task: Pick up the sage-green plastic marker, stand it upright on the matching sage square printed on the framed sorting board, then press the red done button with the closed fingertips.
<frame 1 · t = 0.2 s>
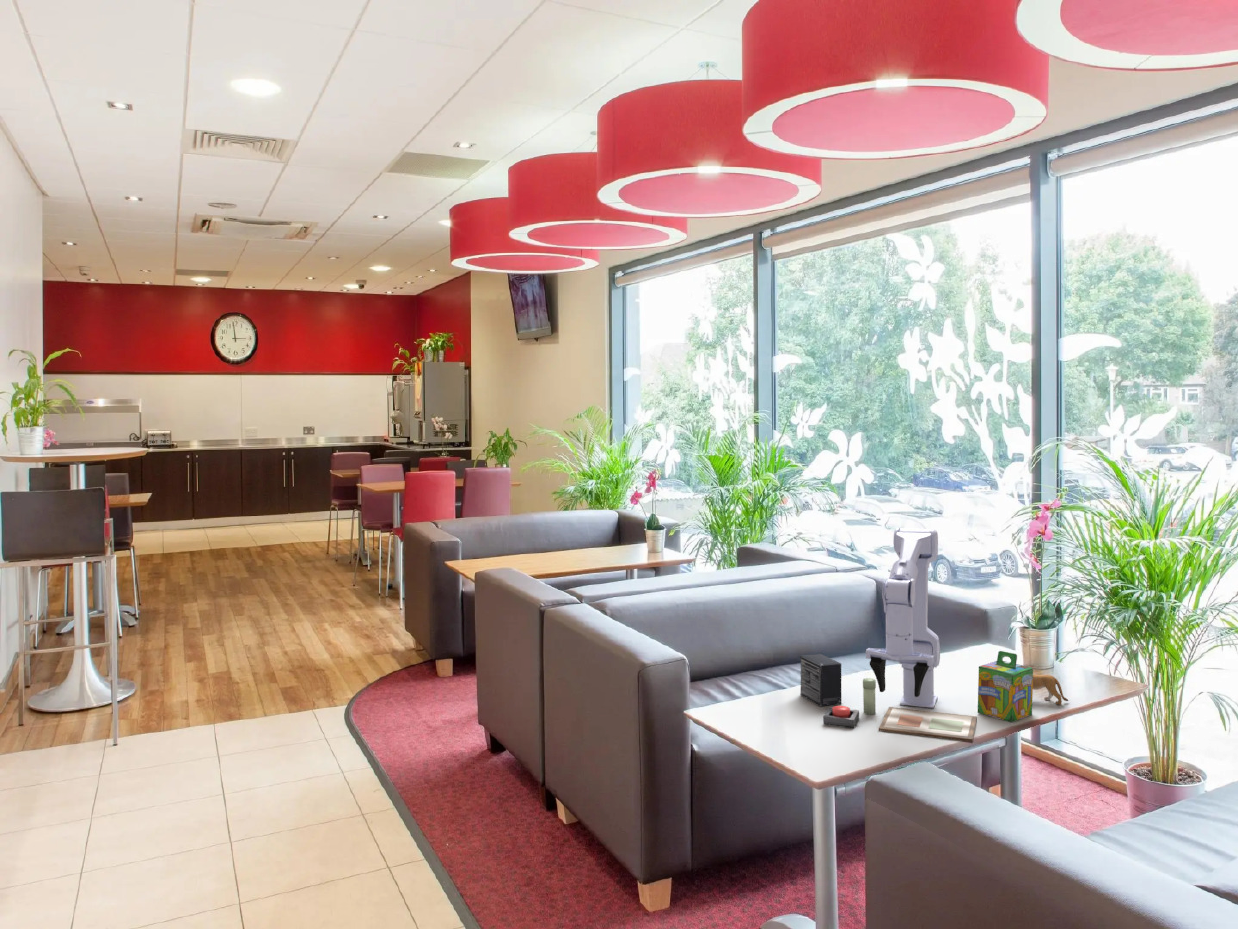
hand: (899, 693, 203), 10 cm above the table, fingers open, 7 cm apart
small box: (821, 700, 231), on the table
button housing: (841, 721, 214), on the table
lion figurine: (1033, 701, 226), on the table
sage marker: (869, 712, 220), on the table
done button: (841, 712, 214), point 2 cm above the table, slide at 0.0 cm
chalk box: (1005, 715, 217), on the table
framed sorting board: (928, 724, 211), on the table
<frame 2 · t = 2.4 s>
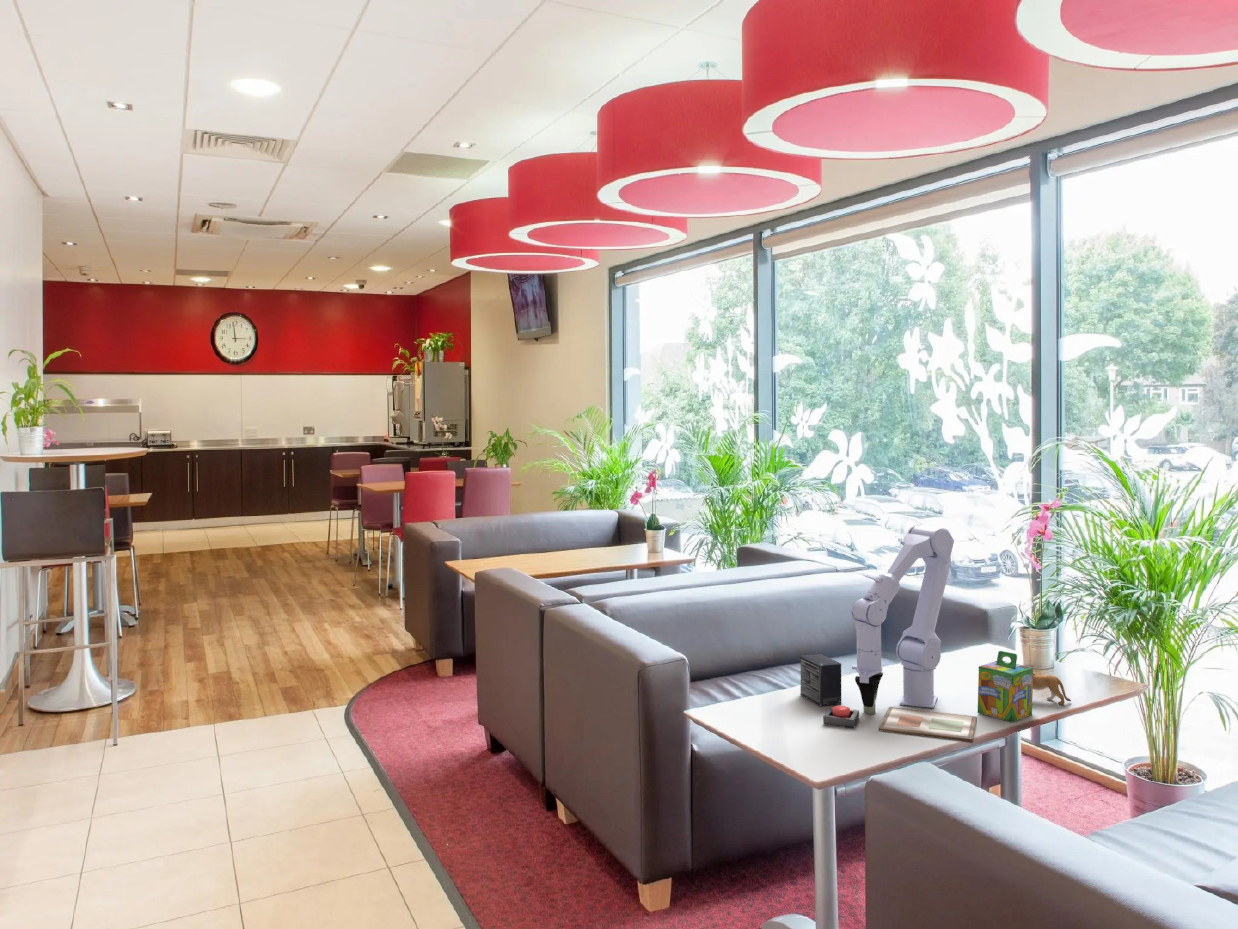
hand: (869, 704, 220), 2 cm above the table, fingers closed on sage marker, 3 cm apart
sage marker: (869, 712, 220), on the table, touching gripper
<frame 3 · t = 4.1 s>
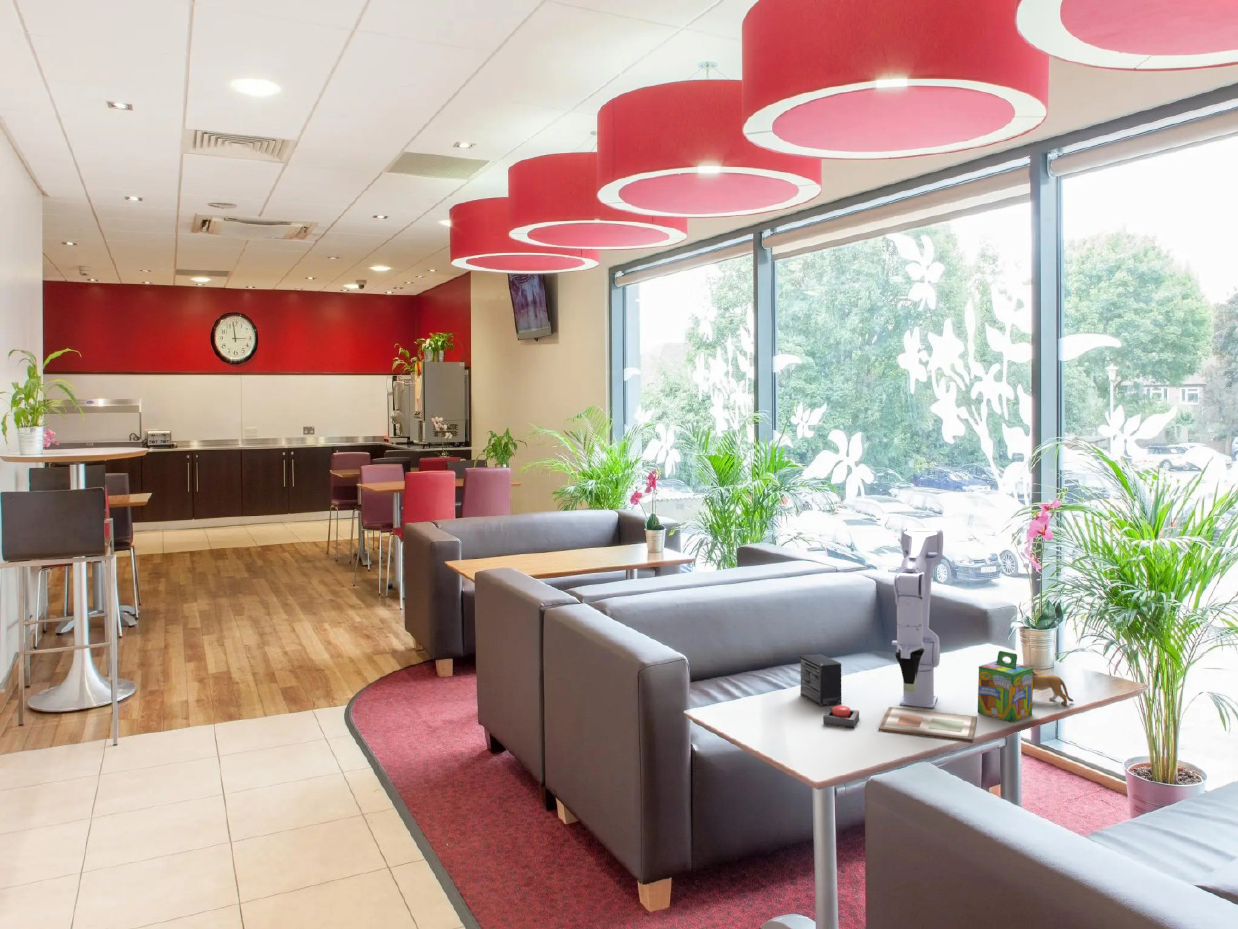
hand: (910, 681, 213), 9 cm above the table, fingers closed on sage marker, 3 cm apart
sage marker: (909, 690, 213), point 7 cm above the table, touching gripper
when the fingers open (4 cm above the table, at t = 6.0 s): sage marker stays where it is, resting on framed sorting board.
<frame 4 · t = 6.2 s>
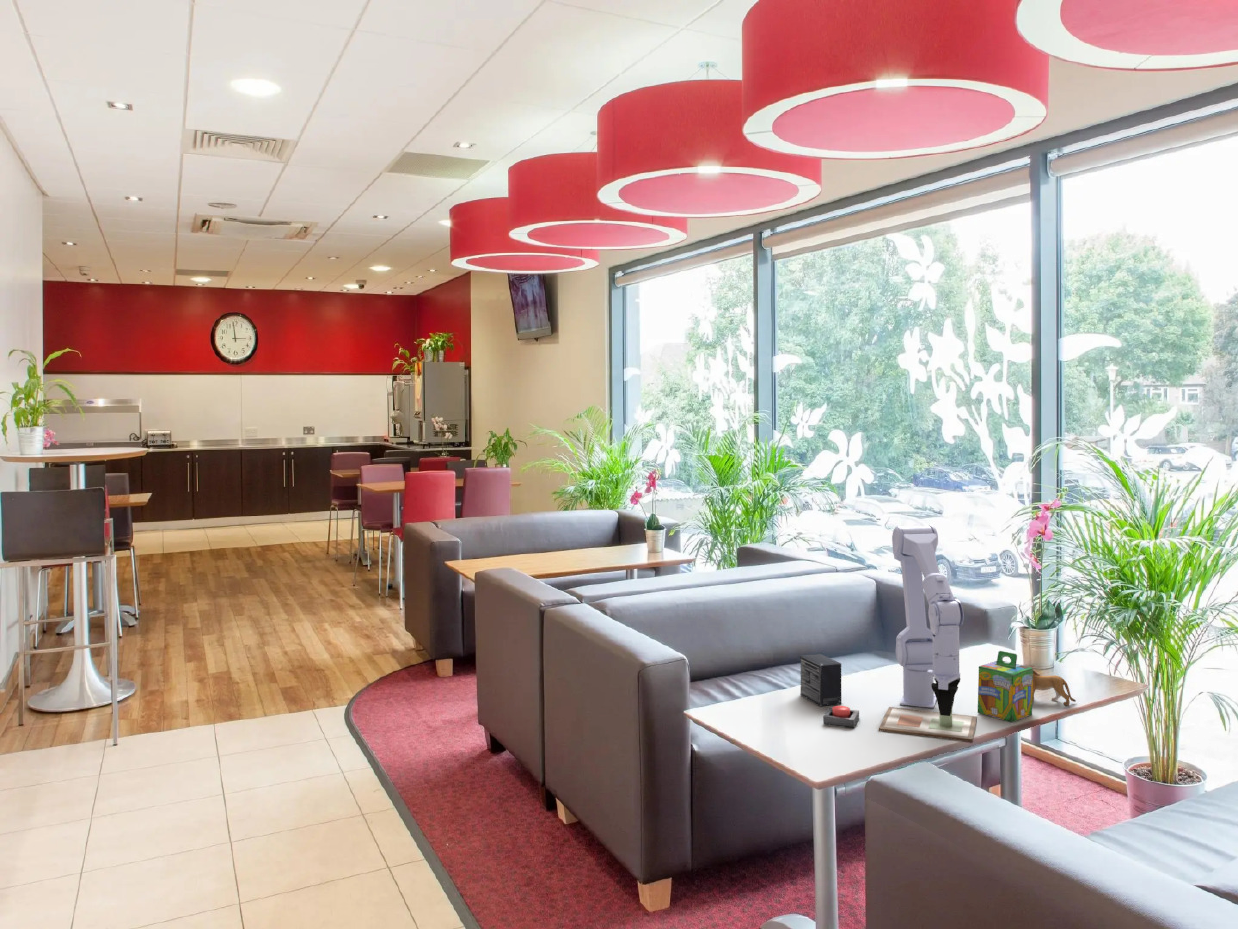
hand: (946, 712, 208), 4 cm above the table, fingers open, 4 cm apart
sage marker: (945, 724, 208), point 1 cm above the table, touching framed sorting board
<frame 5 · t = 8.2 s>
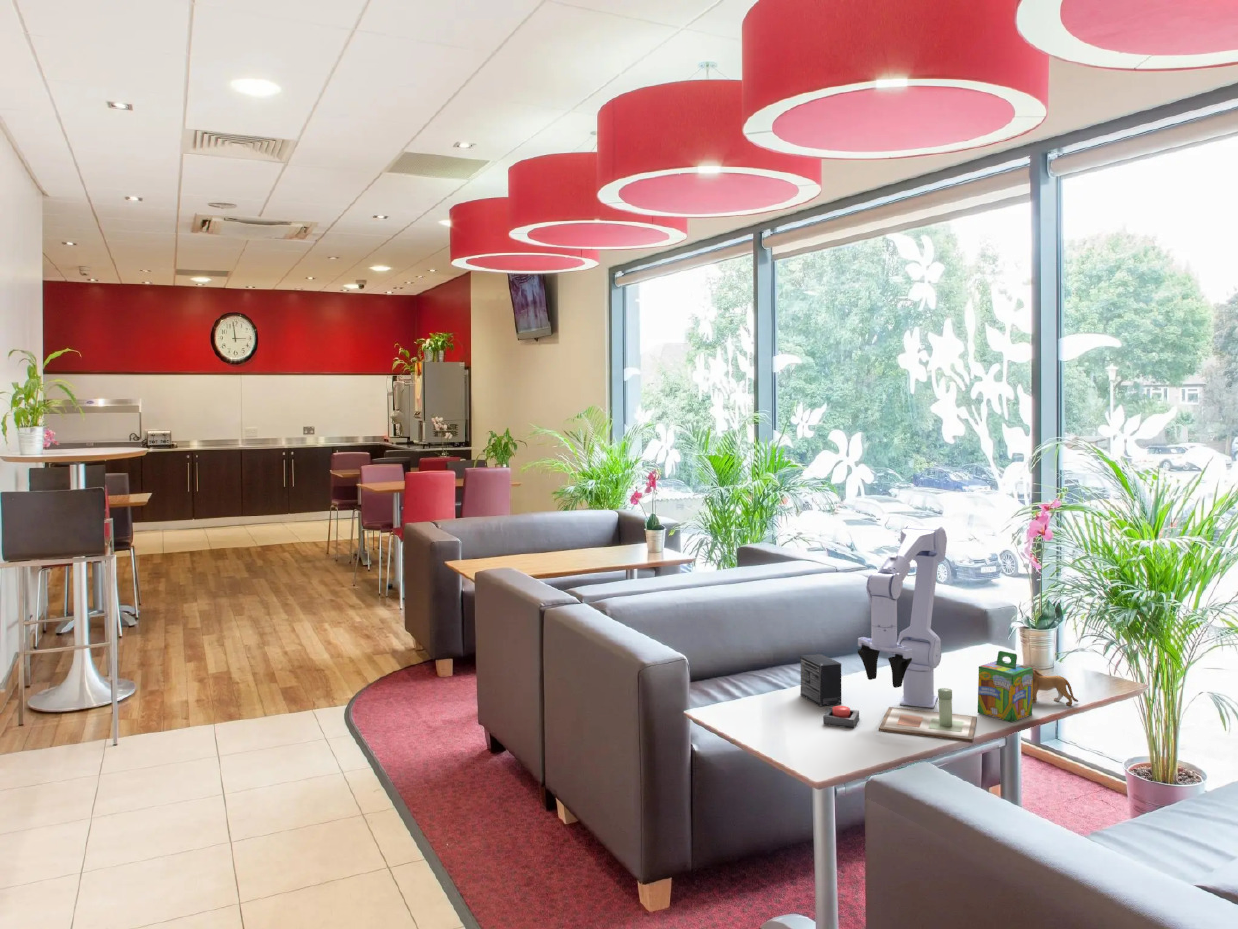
hand: (884, 682, 211), 10 cm above the table, fingers open, 7 cm apart
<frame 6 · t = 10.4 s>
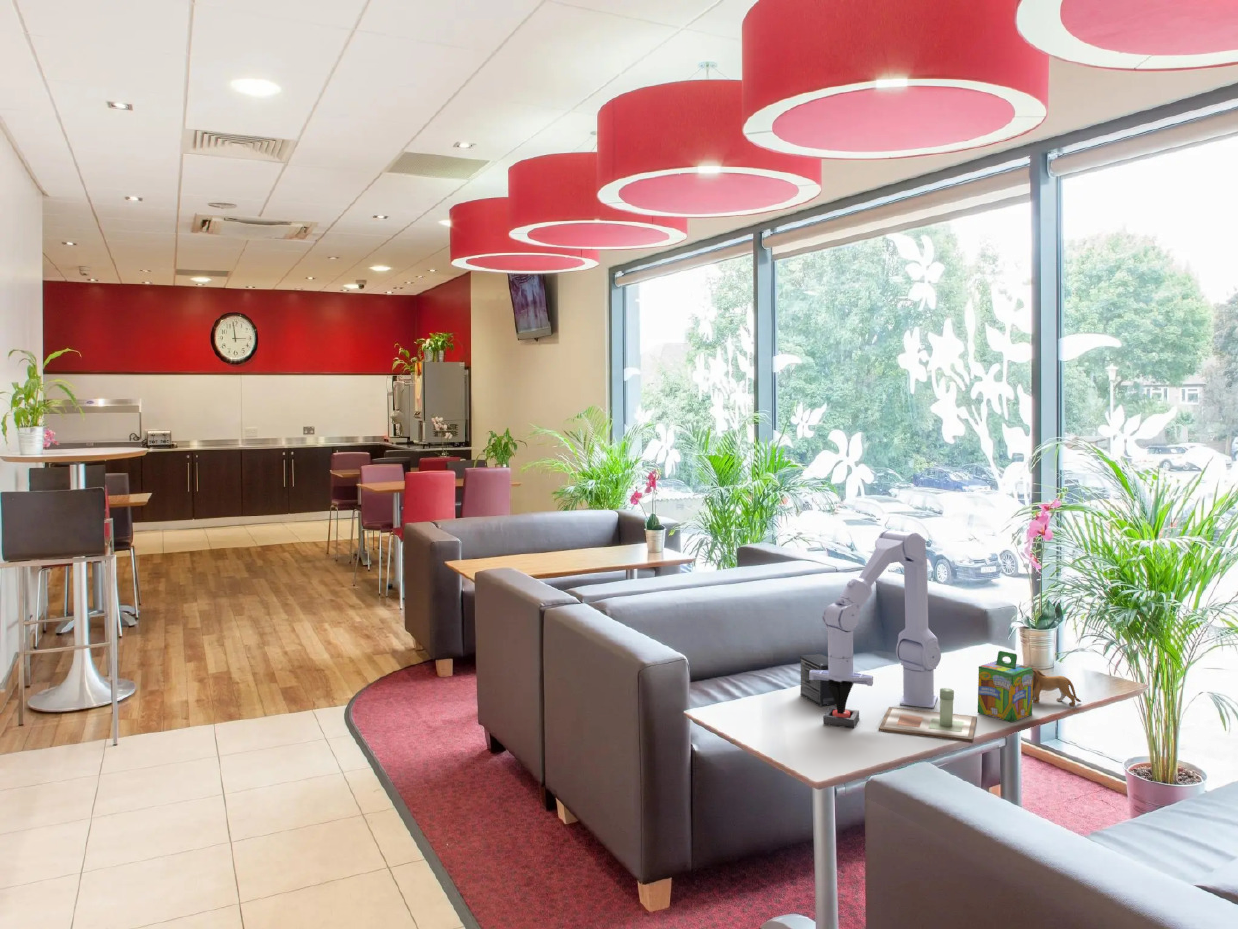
hand: (841, 712, 214), 2 cm above the table, fingers closed, pressing on done button
done button: (841, 715, 214), point 1 cm above the table, slide at 0.9 cm, touching gripper
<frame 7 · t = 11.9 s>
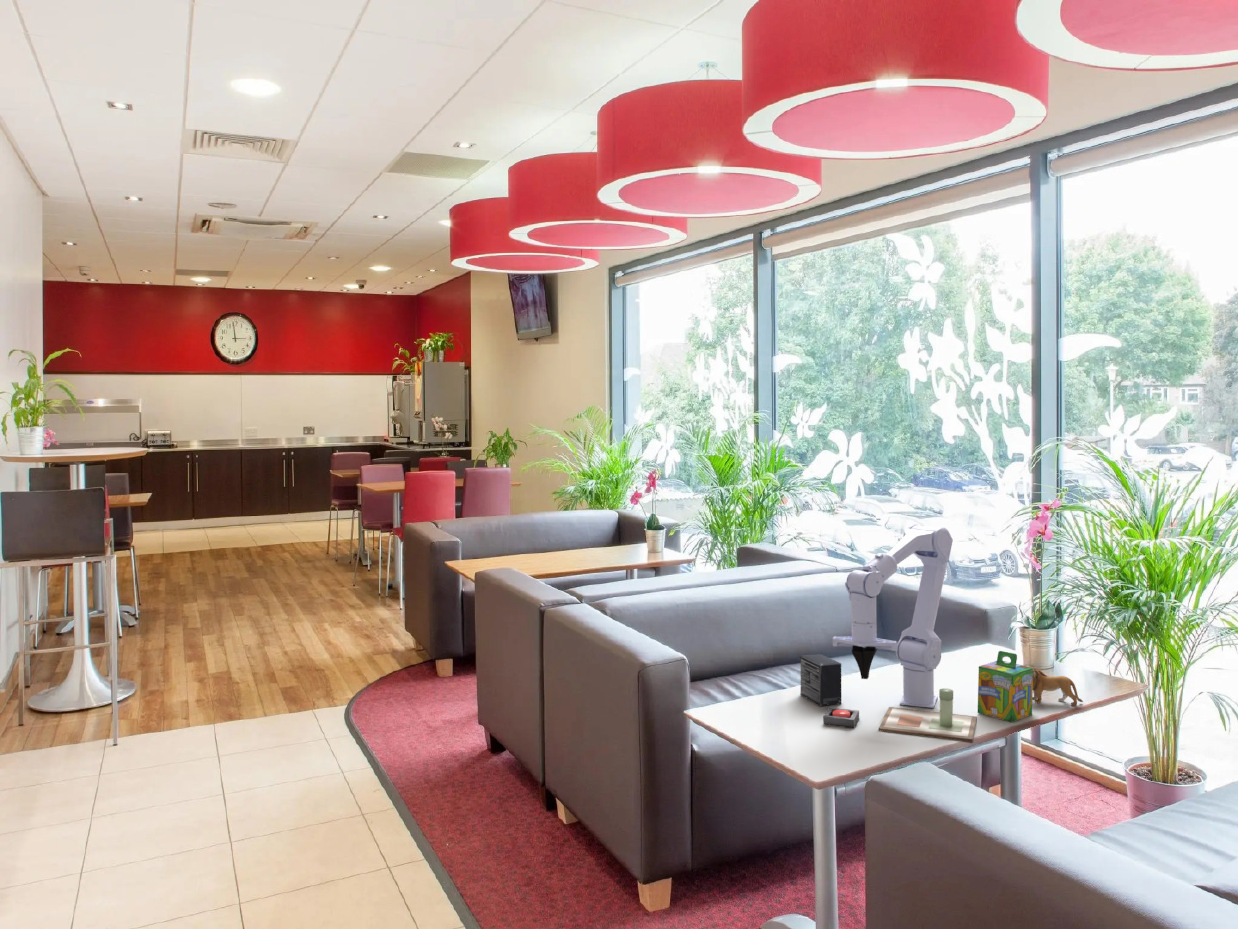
hand: (865, 677, 215), 10 cm above the table, fingers closed
done button: (841, 716, 214), point 1 cm above the table, slide at 1.0 cm
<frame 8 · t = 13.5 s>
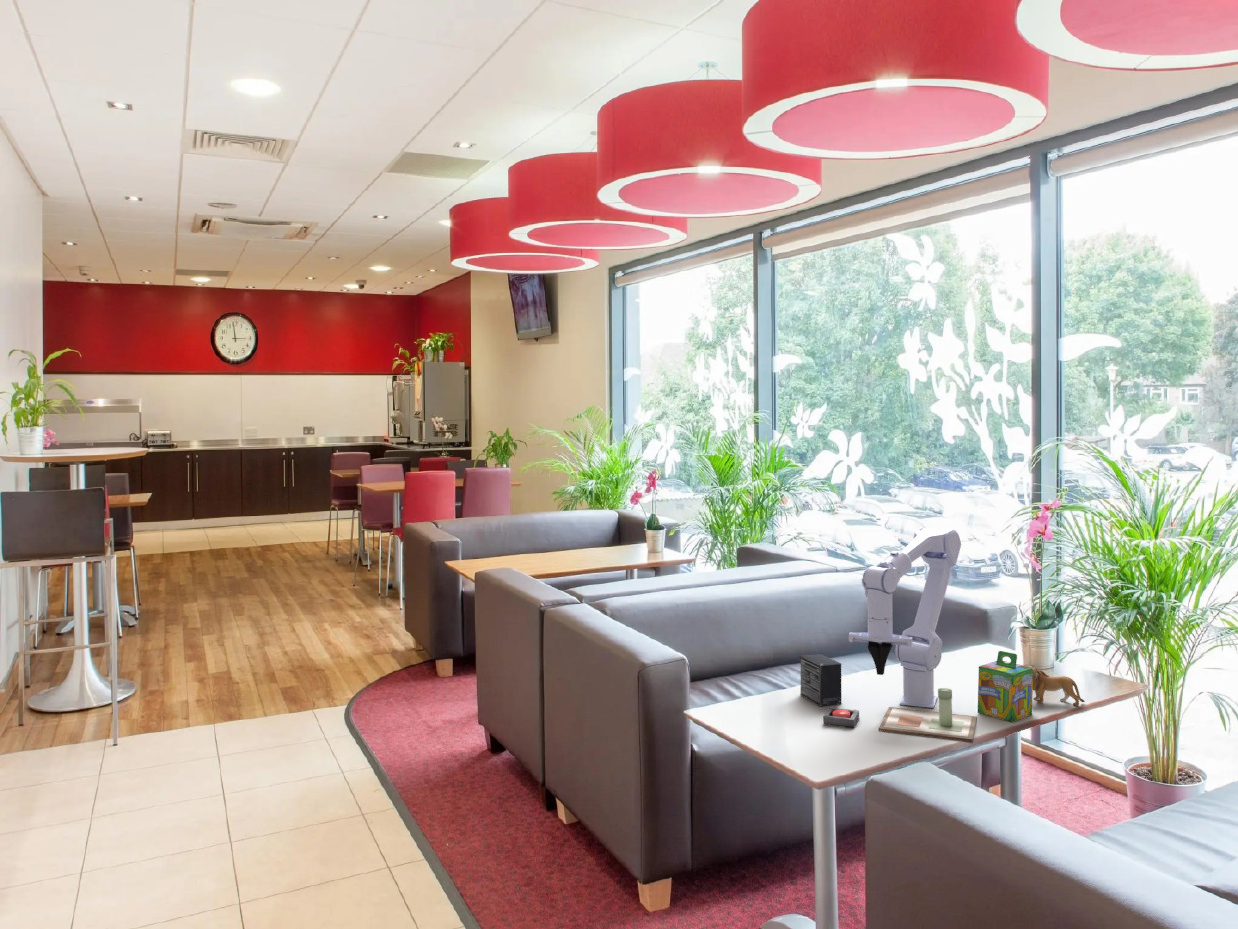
hand: (880, 673, 216), 10 cm above the table, fingers closed
at the end: sage marker inside the target area (0.1 cm from its centre), point 0.8 cm above the table; sage marker tilted 2°; done button slide at 1.0 cm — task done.
